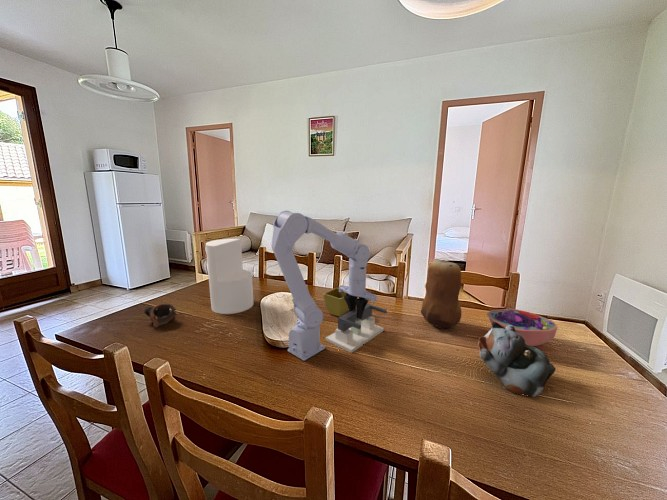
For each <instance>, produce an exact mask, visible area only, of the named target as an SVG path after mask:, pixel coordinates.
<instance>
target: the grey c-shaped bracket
mask: <svg viewBox="0 0 667 500" xmlns="http://www.w3.org/2000/svg"><path fill="white" fill-rule="evenodd" d="M373 310H374V311H376V312H380V313H383V314H387V311H388V310H387V309H385V308H383V307H380V306H377V305H374V304H371V303H369V302H368V303H367V305H366V307H365V309H364V312H363V315H362V317H361V318H359V319H361V321H363V320H364V319H366V318H368V317H370V316H371V317H372V315H373ZM355 319H357V307H356V309H354V310H352V311H350V312H349V311H347V312H346V313H345V314H343V315H342V316H340V317H339V316H337V328H338V329H339V330H341V331H346V330H347V329H349V328H351V327H355V328H357V329H360V328H361V325H359V324H357V323H355Z"/></svg>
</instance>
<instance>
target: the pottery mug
mask: <svg viewBox="0 0 667 500" xmlns="http://www.w3.org/2000/svg"><path fill="white" fill-rule="evenodd" d="M170 309H171V310H170ZM176 310H177V309H176V308H175V307H174V305H172V304H170V303H159V304H157V305H154V306H146V307H145V308H144V311H143V313H144V314H145V316H146V317H149V318H150V320H151V321H152V322H153V324H152V326H153V327H154V328H158V327H159V326H163V325H164V324H167V323H170V322H171V320H173V319H174V318H175V317H177V316H178V314H177V313H176ZM156 317H157V318H156Z"/></svg>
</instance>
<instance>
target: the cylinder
mask: <svg viewBox="0 0 667 500" xmlns="http://www.w3.org/2000/svg"><path fill="white" fill-rule="evenodd" d="M242 249H243V248H242V238H223V239H214V240H210V241H208V242H206V243H205V252H206V263H207V264H206V266H207V274H208V284H209V296H210V304H211V305H210V307H211V308H210V309H211V311H212V312H214V313H216V314H221V315H231V314H232V315H234V314H238V313H242V312H246V311H247V310H249V309H251V308H252V307H253V306H254V303H255V302H254V288H253V274H252V272H251V271H250V270H247V269H243V268H244V267H243V266H244V263H243V250H242Z"/></svg>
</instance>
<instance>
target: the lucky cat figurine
mask: <svg viewBox="0 0 667 500" xmlns="http://www.w3.org/2000/svg"><path fill="white" fill-rule="evenodd" d="M477 346H478V348H479V353H478V354H479V357H480V359H481V360H482V362H483V363H484V365H485V366H487V367H488V369H489V370H491V372H492V373H494V375H495V376H497V378H498V379H500V381H501V382H502V384H503V385H504V387H505V388H506V389H507V390H508V391H509V392H511V391H512V392H515V393H518V394H517V395H519V394H524V395H528V396H527V397H533V398H534V397H537V396H538V395H540V394H542V392H543V390H544V388H545V385H546V383H547V381H548V380H549V379H550V378H551V376H553V375H554V373H555V371H556V369H557V368H556V367H555V365H553V364H552V363H551V362H550V359H549V358H548V356H547V355H546V353H544V351H542V350H541V349H539V348H537V347H536V346H529V345H526V343H525V339H524V338H523V337H522V335H520V334H519V333H517V332H516V331H515V328H514V326H513V325H508V326H507V327H505V328H504V327H502V326H501V325H500V324H498V323H496V322H493V323H492V324H491V326H490V328H489V330H488V332H487V333H486V334H485V335H484V336H482V335H481V336H479V337H478V343H477ZM512 392H511V393H512ZM515 393H514V394H515Z"/></svg>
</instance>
